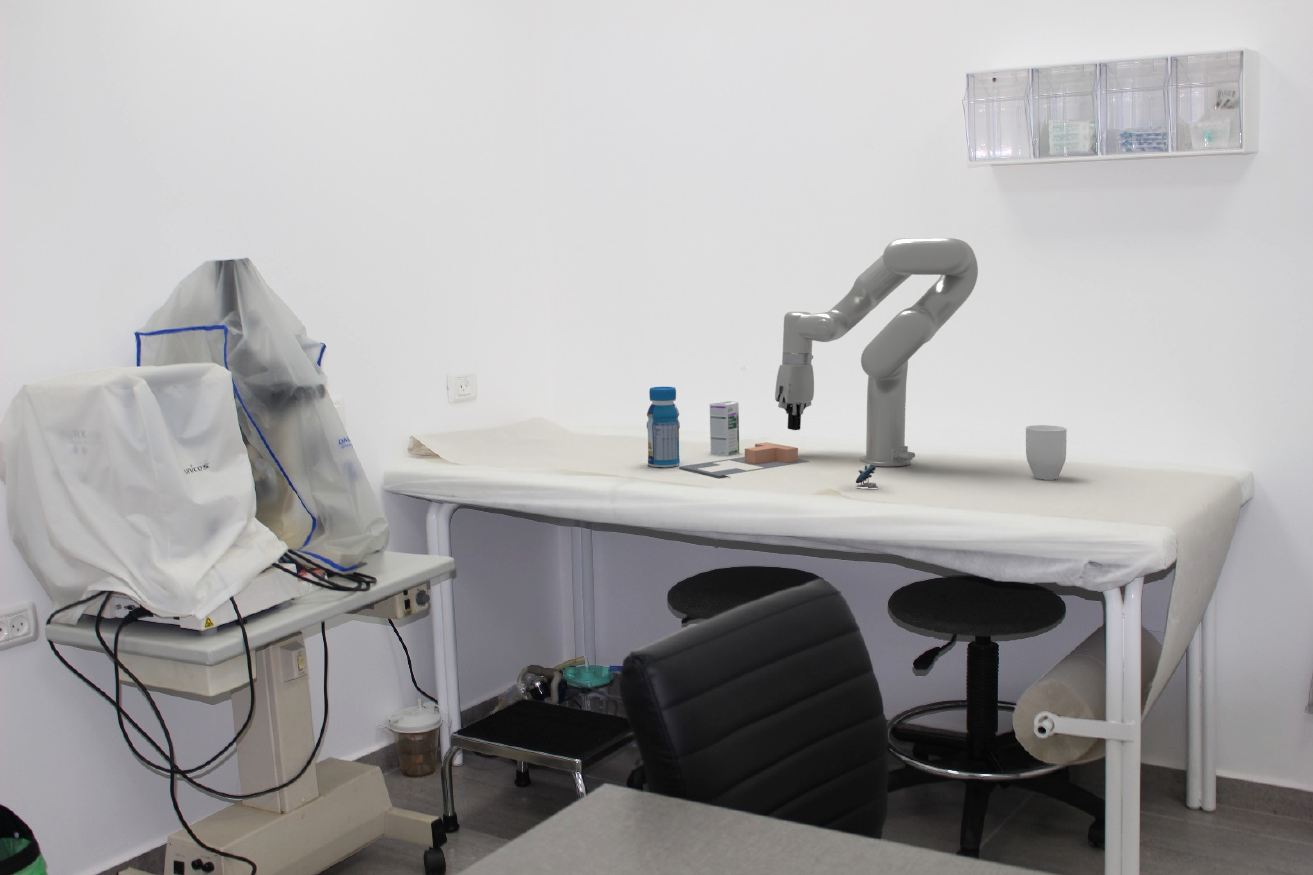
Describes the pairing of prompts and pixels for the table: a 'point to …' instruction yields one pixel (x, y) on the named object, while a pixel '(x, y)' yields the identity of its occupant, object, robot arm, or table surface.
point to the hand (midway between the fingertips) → (793, 429)
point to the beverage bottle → (663, 428)
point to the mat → (732, 471)
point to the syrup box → (724, 428)
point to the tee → (771, 453)
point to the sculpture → (865, 475)
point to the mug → (1046, 450)
